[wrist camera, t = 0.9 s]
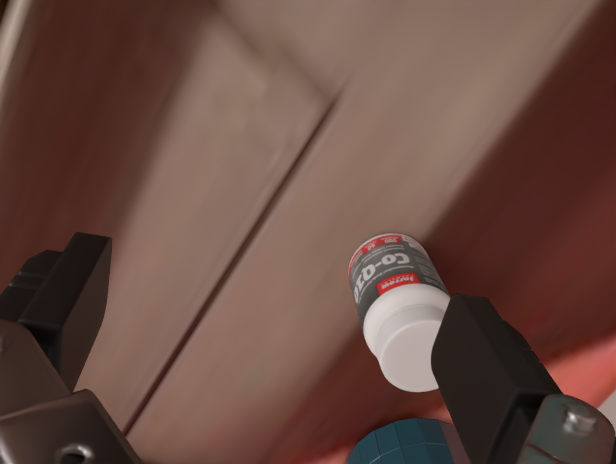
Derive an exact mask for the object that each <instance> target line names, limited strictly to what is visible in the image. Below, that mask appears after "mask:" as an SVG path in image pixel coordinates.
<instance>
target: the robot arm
mask: <svg viewBox="0 0 616 464" xmlns="http://www.w3.org/2000/svg"><path fill="white" fill-rule="evenodd" d="M111 254H112V238H111V237H105V236H99V235H93V234H87V233H80V232H76V233H75V234H74V236H73V237H72V239H71V240H70V242H69V243H68V245H67V246H66V248H65V249H64V251H63V252H58V251H52V250H45V251H43V252H41V253H39V254H37V255H35V256H34V257H32V258H30V259H28V260H27V261H26V263H25V264H24V265H23V266H22V268H21V269H20V270H19V272H18V275H16V276H15V277H14V278H13V280H12V281H11V282H10V285H9V286H7V287H6V289H5V290H4V291H3V293H2V294H1V295H0V464H143V462H142V461H141V460H140V458H139V457H138V455H137V454H136V452H135V451H134V450H133V448H132V447H131V445H130V444H129V442H128V441H127V440H126V438H125V437H124V435H123V434H122V432H121V431H120V430H119V428H118V427H117V425H116V424H115V422H114V421H113V420H112V418H111V417H110V415H109V414H108V412H107V411H106V410H105V408H104V407H103V405H102V404H101V403H100V401H99V400H98V398H97V397H96V396H95V394H94V393H93V392H92V391H90V390H89V389H84V390H80V391H77V392H74V393H73V391H74V388H75V386H76V384H77V381H78V379H79V377H80V374H81V372H82V370H83V367H84V365H85V362H86V360H87V358H88V355H89V353H90V351H91V348H92V346H93V344H94V341H95V339H96V337H97V334H98V332H99V330H100V327H101V324H102V321H103V318H104V314H105V309H106V303H107V295H108V285H109V275H110V264H111ZM431 369H432V373H433V375H434V377H435V380H436V382H437V385H438V387H439V389H440V392H441V394H442V396H443V399H444V401H445V404H446V406H447V408H448V411H449V413H450V415H451V418H452V420H453V423H454V425H455V427H456V430H457V432H458V434H459V437H460V439H461V441H462V444H463V446H464V449H465V451H466V453H467V456H468V458H469V460H470V463H471V464H616V437H615V430H614V427H613V426H612V424H611V423H610V421H609V420H608V419H607V418H606V417H605V416H604V415H603V414H602V413H601V412H600V411H598V410H597V409H596V408H594V407H593V406H591V405H590V404H588V403H586V402H584V401H582V400H580V399H578V398H575V397H572V396H569V395H564V394H563V393H562V392H561V390H560V389H559V387H558V386H557V384H556V383H555V382H554V380H553V379H552V377H551V376H550V374H549V373H548V372H547V370H546V369H545V367H544V366H543V364H542V363H539V359H538V357H537V356H536V354H535V353H534V352H533V351H531V347H530V346H529V344H528V343H527V342H526V340H525V339H524V337H523V336H522V334H520V333H519V332H518V331H517V330H515V329H514V328H513V327H512V326H511V325H509V324H508V323H507V322H506V321H503V320H502V319H501V317H500V316H499V314H498V313H497V311H496V310H495V308H494V307H493V306H492V304H491V303H490V301H489V300H488V299H487V298H484V297H477V296H471V295H465V294H459V293H456V294H454V295H453V296H452V297H451V299H450V301H449V303H448V306H447V309H446V312H445V314H444V317H443V320H442V322H441V325H440V328H439V330H438V333H437V336H436V339H435V341H434V344H433V347H432V352H431Z"/></svg>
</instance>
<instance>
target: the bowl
mask: <svg viewBox="0 0 616 464" xmlns="http://www.w3.org/2000/svg"><path fill="white" fill-rule="evenodd" d="M346 464H471V463H470V460H469V458H468V456H467V453H466V451H465V449H464V446H463V444H462V441H461V439H460V437H459V434H458V432H457V430H456V427H455V426H453V425H450V424H448V423H445V422H442V421H440V420H434V419H422V418H417V419H416V418H412V419H406V420H400V421H395V422H393V423H390V424H388V425H385V426H383V427H381V428H378V429H376V430H373V431H372V432H371V433H370V434H368V435H367V436H366V437H364V438H363V439H362V440H360V441H359V442H358V443H357V445H356V446H355V447H354V449H353V450H352V452H351V453H350V454H349V456H348V458H347V460H346Z"/></svg>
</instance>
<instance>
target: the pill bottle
mask: <svg viewBox="0 0 616 464" xmlns="http://www.w3.org/2000/svg"><path fill="white" fill-rule="evenodd" d="M348 275H349V282H350V286H351V289H352V293H353V296H354V300H355V304H356V307H357V311H358V315H359V320H360V323H361V327H362V332H363V334H364V337H365V340H366V342H367V345H368V347H369V348H370V350H371V351H372V353H373V354H374V355H375V356H376V357H377V359H378V361H379V363H380V366H381V369H382V372H383V374H384V375H385V377H386V378H387V380H388V381H389V382H390V383H392V384H393V385H394V386H396V387H398V388H400V389H402V390H406V391H410V392H424V391H430V390H434V389H437V388H439V387H438V385H437V382H436V380H435V377H434V375H433V373H432V369H431V352H432V347H433V344H434V341H435V339H436V336H437V333H438V330H439V328H440V325H441V322H442V320H443V317H444V314H445V312H446V309H447V306H448V303H449V301H450V299H451V297H450V295H449V293H448V291H447V290H446V288H445V286H444V284H443V282H442V280H441V279H440V277H439V275H438V273H437V271H436V269H435V267H434V266H433V264H432V262H431V260H430V258H429V256H428V255H427V253H426V251H425V250H424V248H423V247H422V246H421V245H420V244H419V243H418V242H417V241H416V240H414V239H413V238H411V237H409V236H406V235H403V234H398V233H387V234H382V235H378V236H375V237H373V238H371V239H369V240H368V241H366V242H365V243H363V244H362V245H361V246H360V247H359V248H358V249H357V250H356V251H355V253H354V255H353V256H352V259H351V261H350V265H349V271H348Z"/></svg>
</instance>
